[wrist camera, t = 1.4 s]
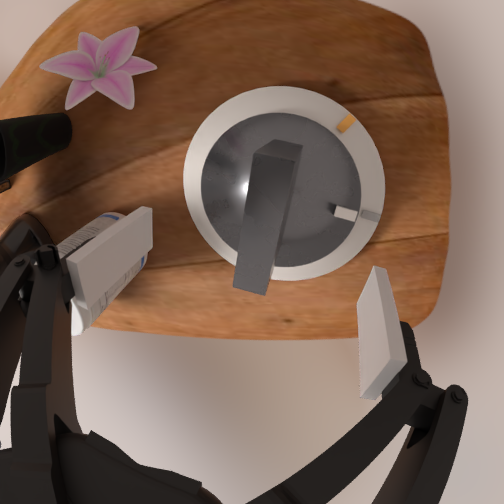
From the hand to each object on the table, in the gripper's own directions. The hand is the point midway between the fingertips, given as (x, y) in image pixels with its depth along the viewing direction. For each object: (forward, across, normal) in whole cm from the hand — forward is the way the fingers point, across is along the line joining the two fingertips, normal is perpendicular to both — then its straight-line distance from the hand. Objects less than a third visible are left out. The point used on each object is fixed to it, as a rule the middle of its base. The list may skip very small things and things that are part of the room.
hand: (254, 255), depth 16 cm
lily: (+14, -20, +11) cm, 27 cm away
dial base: (+14, 0, 0) cm, 14 cm away
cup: (+14, -32, +3) cm, 36 cm away
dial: (+12, 0, 0) cm, 12 cm away
